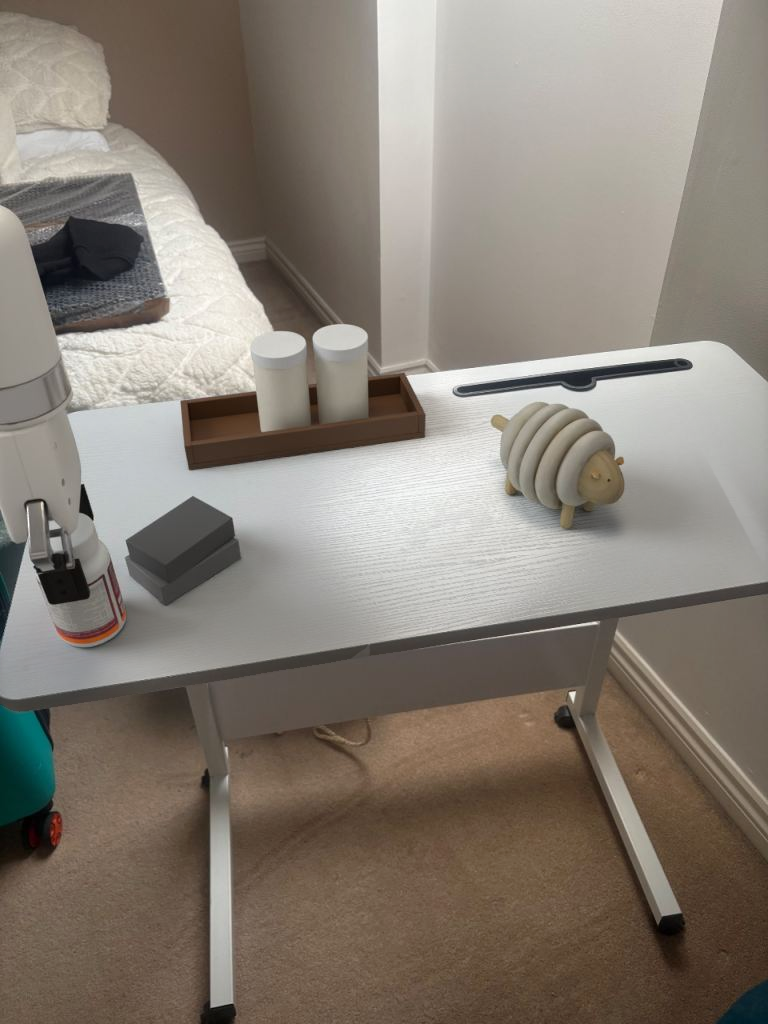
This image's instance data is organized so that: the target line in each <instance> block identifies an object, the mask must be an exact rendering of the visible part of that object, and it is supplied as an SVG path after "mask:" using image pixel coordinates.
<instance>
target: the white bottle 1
mask: <svg viewBox="0 0 768 1024" xmlns="http://www.w3.org/2000/svg"><path fill="white" fill-rule="evenodd" d="M306 340H307V339H305V338H304V337H303V336H302V335H301V334H299V333H296V332H293V331H289V330H288V331H286V330H276V331H275V330H274V331H269V332H265V333H262V334H259V335H258V336H255V338H253V339H252V340H251V342H250V345H249V350H250V358H251V361H252V365H253V366H252V367H253V374H254V375H253V377H254V386H255V391H256V393H257V402H258V410H259V418H260V427H261V432H266V431H274V430H281V429H289V428H296V427H304V426H311V414H310V400H309V387H308V385H309V376H308V374H309V373H308V362H307V361H308V360H307V357H308V347H307V341H306Z"/></svg>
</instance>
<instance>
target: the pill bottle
mask: <svg viewBox="0 0 768 1024" xmlns="http://www.w3.org/2000/svg"><path fill="white" fill-rule="evenodd" d="M60 528H61V527H60V526H59V525H58V524H57V523H56V522H55V521H49V530H53V529H60ZM71 541H72V547H73V553H74V559H78V558H79V560H80V563H81V566H82V569H83V572H84V575H85V578H86V581H87V584H88V587H89V590H90V597H89V598H88V599H86V600H80V601H74V602H68V603H62V604H56V605H51V604H49V602H48V600H47V598H46V595H45V592H44V590H43V587H42V585H41V582H40V579H39V577H38V574H36V571H35V569H34V568H33V570H34V574H35V578H36V581H37V584H38V586H39V589H40V591H41V593H42V597H43V599H44V601H45V604H46V606H47V610H48V612H49V615H50V617H51V620H52V623H53V626H54V628H55V630H56V633H57V635H58V636H59V638H60V639H61V640H62V641H63V642H64V643H66V644H68V645H70V646H72V647H78V648H90V647H96V646H99V645H102V644H104V643H106V642H108V641H109V640H111V639H113V638H114V637H116V636H117V635H118V634H119V633H120V631H121V630H122V629H123V627H124V625H125V624H126V620H127V609H126V606H125V601H124V599H123V595H122V592H121V589H120V584H119V581H118V578H117V574H116V571H115V568H114V564H113V561H112V557H111V554H110V551H109V549H108V547H107V545H106V544H105V543H104V542H103V541H102V539H100V538H99V535H98V532H97V529H96V525H95V522H94V521H92V519H91V518H90V517H88V516H87V515H85V514H82V513H79V517H78V525H77V528H76V530H75V531H74V532H73V533H72V534H71ZM50 544H51V547H52V549H53V554H54V553H61V554H63V548H62V542H61V537H55V538H50Z"/></svg>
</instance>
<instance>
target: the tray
mask: <svg viewBox="0 0 768 1024" xmlns="http://www.w3.org/2000/svg"><path fill="white" fill-rule="evenodd" d="M308 387H309V400H310V414H311V426H304V427H296V428H289V429H281V430H274V431H266V432H261V427H260V418H259V410H258V402H257V393H256V390H254V391H246V392H239V393H238V392H237V393H229V394H220V395H213V396H205V397H197V398H189V399H182V400H180V402H179V403H180V412H181V423H182V424H181V425H182V434H183V446H184V452H185V457H186V463H187V469H188V470H189V471H191V470H192V471H193V470H197V469H198V470H199V469H200V470H201V469H204V468H213V467H220V466H221V467H222V466H228V465H236V464H240V463H241V464H242V463H251V462H255V461H265V460H271V459H277V458H284V457H285V458H287V457H291V456H301V455H307V454H314V453H321V452H327V451H334V450H341V449H350V448H357V447H364V446H370V445H377V444H378V445H379V444H385V443H393V442H399V441H407V440H414V439H415V440H416V439H422V438H425V436H426V412H425V410H424V408H423V406H422V404H421V402H420V401H419V398H418V396H417V394H416V392H415V390H414V388H413V387H412V384H411V383H410V381H409V378H408V377H407V375H406V373H405V372H397V373H390V374H381V375H375V376H368V412H369V418H364V419H356V420H349V421H341V422H334V423H326V424H320V423H319V415H318V399H317V384H316V383H311V384H309V383H308Z"/></svg>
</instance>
